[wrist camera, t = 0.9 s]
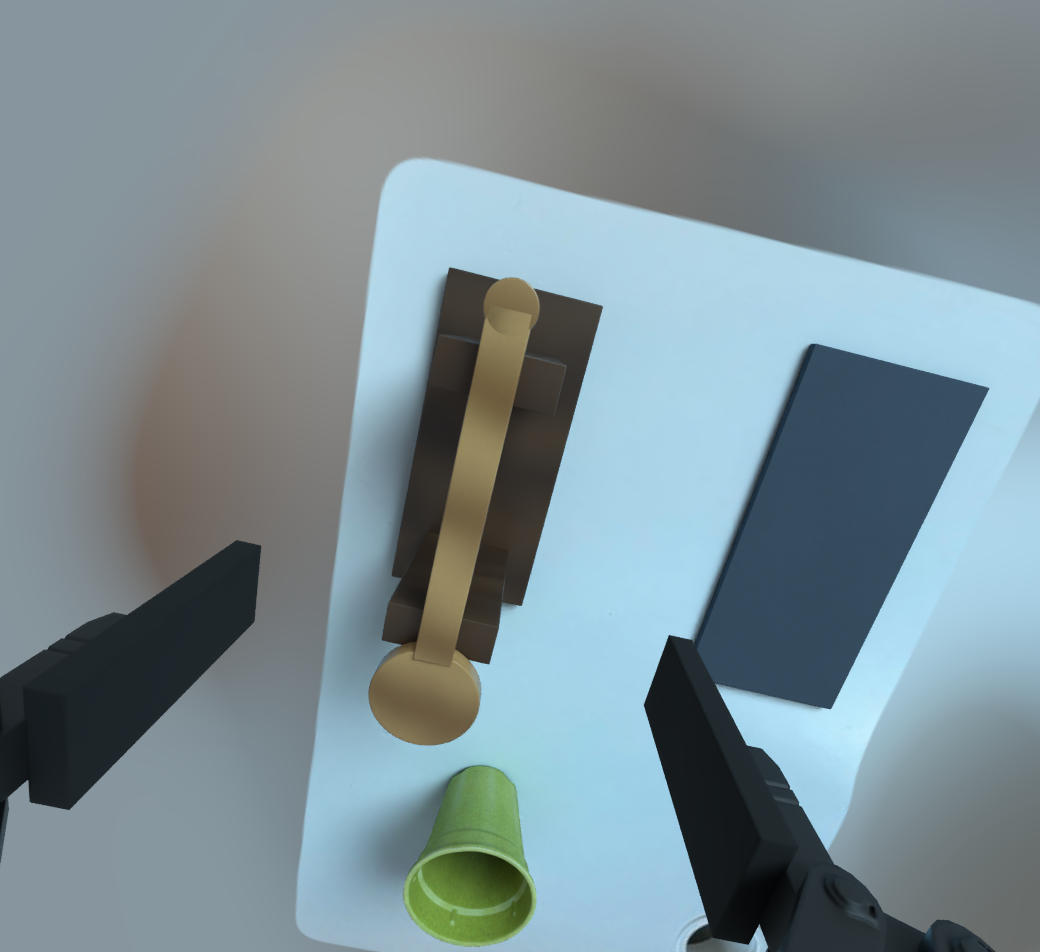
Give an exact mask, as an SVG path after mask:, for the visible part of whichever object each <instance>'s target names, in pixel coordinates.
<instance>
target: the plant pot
mask: <svg viewBox="0 0 1040 952" xmlns="http://www.w3.org/2000/svg"><path fill="white" fill-rule="evenodd" d="M403 899H404V904H405V907H406V909H407V912H408V913H409V915H410V917H411V919H412V920H413V921H414V922H415V923H416V924H417V926H419V927H420V928H421V929H422V930H423V931H425V932H426V933H427V934H429V935H431V936H432V937H434V938H437V939H439V940H441V941H443V942H446V943H450V944H453V945H458V946H469V947H472V946H474V947H480V946H486V945H492V944H497V943H500V942H503V941H506V940H508V939H510V938H511V937H513V936H515V935H517V934H518V933H519V932H520V931H521V930H522V929H523V928H524V927H525V926H526V925H527V924H528V923H529V921H530V920H531V918H532V916H533V914H534V911H535V907H536V889H535V885H534V882H533V879H532V877H531V876H530V874H529V871H528V866H527V863H526V860H525V858H524V851H523V844H522V836H521V827H520V819H519V809H518V801H517V793H516V788H515V786H514V784H513V783H512V782H511V781H510V780H509V779H508V778H507V777H506V776H505V774H504V773H503V772H502V771H500V770H498V769H495V768H492V767H488V766H472V767H468V768H467V769H465V770H464V771H463V772H461V773H460V774H458V775H456V776H454V777H453V778H452V779H451V781H450V782H449V784H448V787H447V790H446V793H445V796H444V798H443V801H442V804H441V807H440V810H439V813H438V816H437V818H436V821H435V824H434V826H433V829H432V832H431V834H430V837H429V840H428V842H427V845H426V848H425V849H424V851H423V852H422V853H421V855H420V857H419V859H418V861H417V862H416V863H415V864H414V865H413V867H412V868H411V869H410V871H409V873H408V875H407V877H406V880H405V884H404V889H403Z"/></svg>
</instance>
